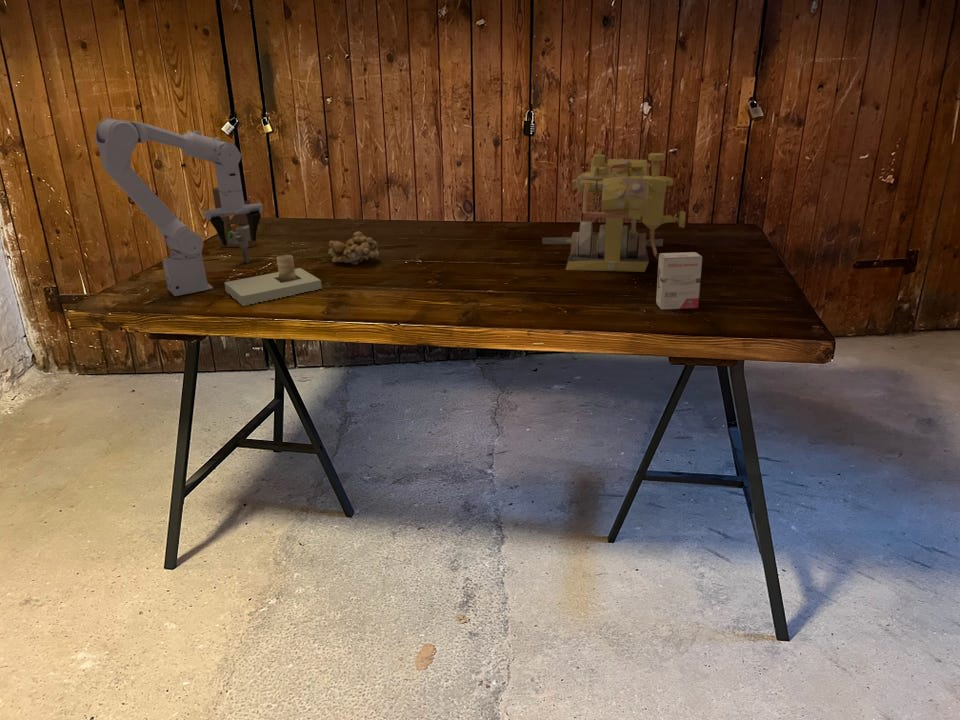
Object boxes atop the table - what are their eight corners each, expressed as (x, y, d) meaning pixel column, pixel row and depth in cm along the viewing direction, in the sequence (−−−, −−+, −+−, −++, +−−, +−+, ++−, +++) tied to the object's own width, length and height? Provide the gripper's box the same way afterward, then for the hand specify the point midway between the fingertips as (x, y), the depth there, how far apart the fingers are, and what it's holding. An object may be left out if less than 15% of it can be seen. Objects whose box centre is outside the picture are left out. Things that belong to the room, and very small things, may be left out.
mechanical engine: (683, 288, 173) (695, 160, 161) (532, 283, 180) (533, 160, 168) (676, 246, 208) (685, 139, 196) (550, 244, 215) (551, 140, 203)
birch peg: (284, 291, 180) (280, 260, 177) (278, 287, 183) (274, 257, 180) (299, 287, 182) (295, 257, 179) (293, 284, 185) (289, 254, 182)
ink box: (691, 301, 165) (696, 250, 160) (698, 308, 160) (703, 256, 155) (654, 302, 164) (658, 252, 160) (660, 310, 160) (664, 258, 155)
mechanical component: (229, 266, 202) (223, 231, 198) (255, 257, 211) (250, 223, 207) (237, 267, 201) (231, 232, 197) (263, 258, 209) (258, 224, 205)
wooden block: (252, 247, 222) (243, 188, 214) (219, 247, 223) (209, 188, 216) (257, 244, 225) (248, 186, 218) (224, 244, 226) (214, 186, 219)
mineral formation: (366, 252, 212) (392, 259, 200) (327, 269, 205) (352, 277, 194) (358, 226, 208) (385, 232, 197) (318, 242, 202) (343, 248, 190)
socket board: (243, 306, 170) (241, 296, 169) (225, 291, 181) (224, 282, 180) (322, 289, 180) (320, 280, 179) (301, 276, 191) (300, 267, 190)
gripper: (205, 196, 177) (215, 250, 182) (263, 188, 184) (271, 240, 189) (198, 192, 182) (208, 244, 187) (254, 185, 189) (262, 235, 195)
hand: (239, 242), depth 189 cm, fingers open, 7 cm apart
